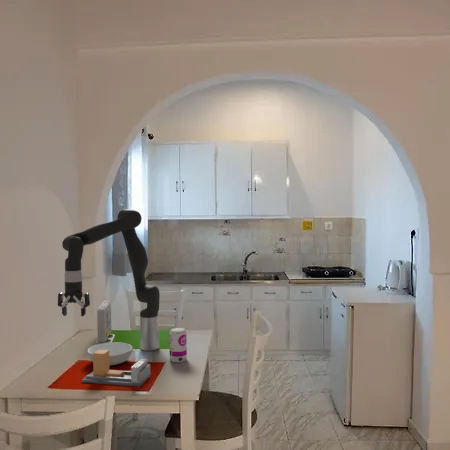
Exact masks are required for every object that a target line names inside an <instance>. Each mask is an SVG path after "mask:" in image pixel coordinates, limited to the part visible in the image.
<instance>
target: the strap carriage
mask: <svg viewBox="0 0 450 450" xmlns="http://www.w3.org/2000/svg"><path fill="white" fill-rule="evenodd" d="M92 363H93V364H92V365H93V368H92V369H93V371H92V372H93V374H94V376H109V377H122V376H123V375H124V371H125V370H120V371H117V370H118V369H116V370H115V369H110V366H109V350H97V351H96V352H94V353H93V362H92Z"/></svg>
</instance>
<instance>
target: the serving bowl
mask: <svg viewBox="0 0 450 450" xmlns="http://www.w3.org/2000/svg"><path fill="white" fill-rule="evenodd" d="M101 343H102V344H98V345H97V344H95V345H92V346H90V347H89V348H87V356H88V358H89V360H90V361H91V362H92V363H93V353H94V352H96V351H97V350H109V367H111V366H115V365H119V364H122V363H124V362H126V361H128V360H129V358H130V357H131V355H132V354H133V345H131V344H129V343H127V342H120V341H119V342H117V341H116V342H113V341H112V342H111V343H109V342H101Z"/></svg>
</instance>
